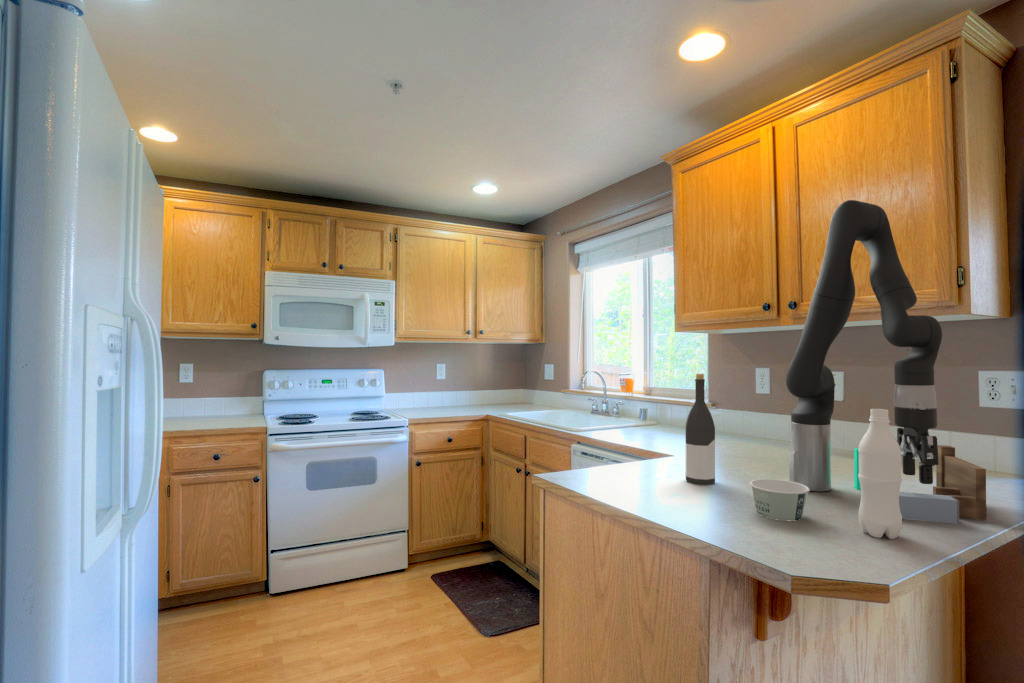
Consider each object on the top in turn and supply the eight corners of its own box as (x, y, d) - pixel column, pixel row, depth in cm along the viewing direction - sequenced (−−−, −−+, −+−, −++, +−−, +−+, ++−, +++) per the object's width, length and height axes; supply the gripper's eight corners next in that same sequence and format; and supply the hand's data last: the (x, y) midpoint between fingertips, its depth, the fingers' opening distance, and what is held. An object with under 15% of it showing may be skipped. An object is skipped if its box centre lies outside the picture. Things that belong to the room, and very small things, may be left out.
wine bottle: (690, 476, 153) (689, 372, 153) (719, 480, 148) (718, 373, 149) (680, 482, 147) (680, 374, 147) (711, 487, 142) (710, 375, 142)
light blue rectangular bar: (879, 517, 117) (879, 494, 117) (874, 511, 121) (874, 489, 121) (959, 524, 113) (959, 500, 113) (950, 518, 116) (950, 495, 116)
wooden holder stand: (951, 516, 117) (950, 458, 117) (917, 495, 134) (917, 444, 134) (989, 520, 115) (988, 460, 115) (949, 497, 132) (949, 445, 132)
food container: (737, 510, 122) (737, 481, 122) (775, 504, 127) (775, 476, 127) (783, 526, 111) (782, 495, 111) (822, 519, 116) (822, 489, 116)
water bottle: (903, 543, 101) (903, 412, 101) (858, 536, 105) (858, 410, 105) (900, 532, 107) (899, 408, 107) (858, 526, 111) (857, 406, 111)
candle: (878, 487, 142) (878, 442, 142) (883, 493, 136) (883, 446, 136) (852, 485, 144) (852, 441, 144) (856, 490, 139) (855, 444, 139)
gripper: (883, 402, 125) (885, 471, 125) (908, 408, 111) (911, 485, 111) (920, 402, 123) (923, 473, 122) (951, 408, 109) (954, 488, 109)
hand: (917, 479), depth 117 cm, fingers open, 8 cm apart
